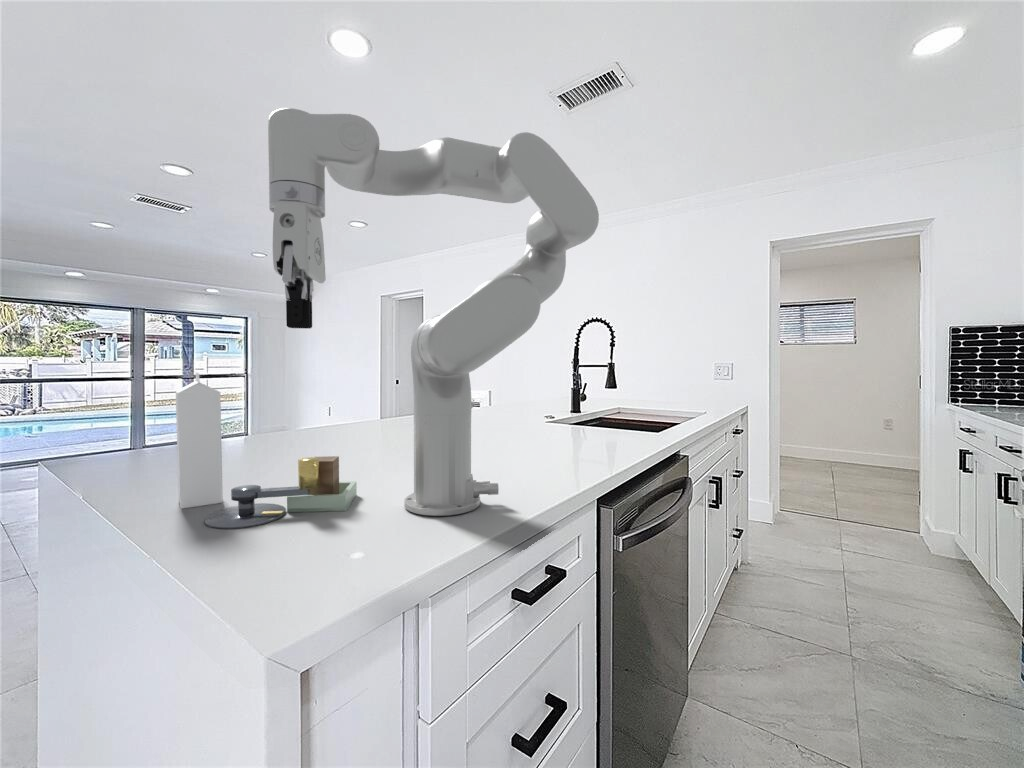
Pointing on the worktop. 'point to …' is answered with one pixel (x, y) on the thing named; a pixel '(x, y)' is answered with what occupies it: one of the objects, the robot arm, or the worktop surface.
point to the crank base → (245, 515)
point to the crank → (307, 481)
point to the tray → (324, 500)
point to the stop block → (327, 476)
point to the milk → (199, 445)
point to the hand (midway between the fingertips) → (299, 327)
